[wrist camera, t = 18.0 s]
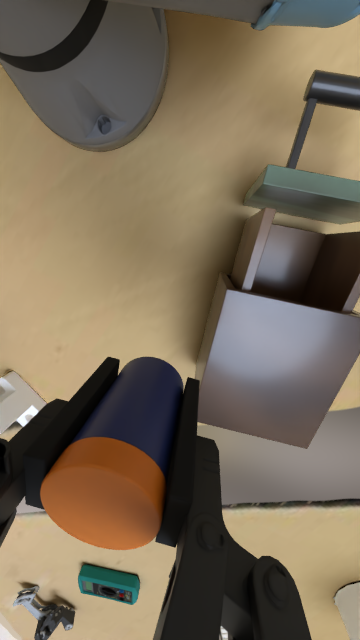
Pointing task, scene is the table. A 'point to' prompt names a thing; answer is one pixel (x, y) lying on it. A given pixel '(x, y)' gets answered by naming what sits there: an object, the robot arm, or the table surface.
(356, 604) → the white piece
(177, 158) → the table surface
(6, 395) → the cable organizer
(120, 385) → the glue stick
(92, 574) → the digital multimeter
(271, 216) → the drawer
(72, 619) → the bicycle component
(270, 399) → the cabinet
